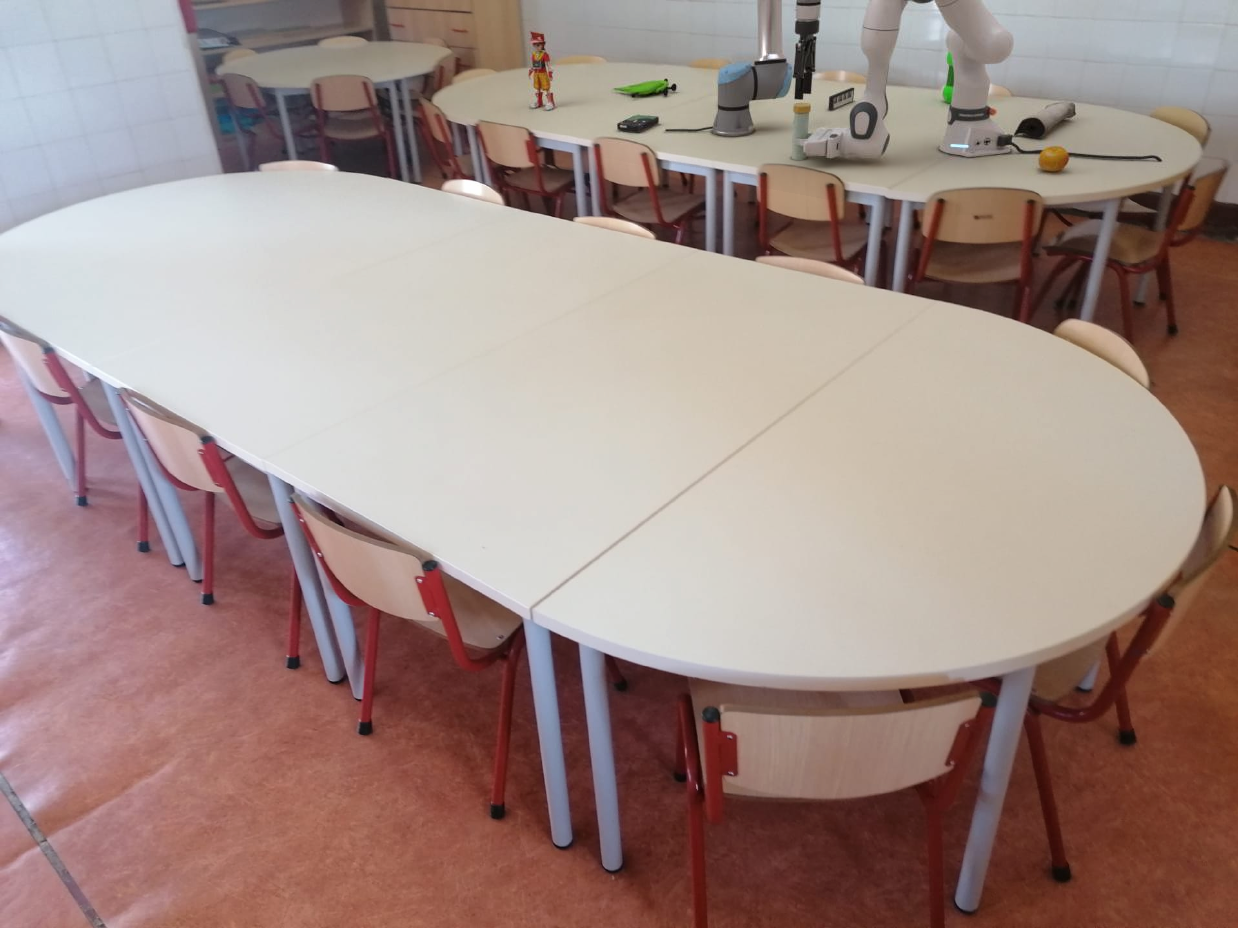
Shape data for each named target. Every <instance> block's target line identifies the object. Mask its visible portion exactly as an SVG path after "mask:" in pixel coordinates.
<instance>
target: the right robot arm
mask: <svg viewBox="0 0 1238 928" xmlns="http://www.w3.org/2000/svg"><path fill="white" fill-rule="evenodd" d="M933 1H934V3H935V5H936V7H937V9H938V11H939V13H940V14H941V17H942V18H943V20H944V22H945V23H946V25H947V26H948V27H949V29H948V31H947V33H946V35H945V36H946V38H945V45H946V48H947V50H948V52H949V51H950V54H951V57H952V62H953V70H954V87H953V94H952V102H951V103H950V104H949V106H948V111H947V118H946V123H947V124H946V128H945V132H944V135H943V138H942V140H941V143H940V144H939V145H940V146H939V150H940V151H941V152H943V153H946V154H950V155H957V156H963V157H966V158H974V157H983V156H992V155H993V156H994V155H1000V154H1001V155H1002V154H1008V153H1010V152H1011V147H1014V148H1015V150H1016V151H1017V152H1019V153H1021V154H1040V153H1041V152H1042V151H1043V150H1044V149H1034V150H1024V149H1021V148H1020V146H1019V145H1018V144H1016V143H1015V142H1013V137H1014V134H1010V133H1007V134H1005V131H1004V129H1003V128H1002V126H1000V125H999V124H998V123H997V122H996V121H995V120H994V119H992V117H991V116H995V115H996V114H997V109H995V108H994V107H991V106H989V105H987V104H988V98H989V93H990V87H991V78H990V76H989V75H988V73H987V70H986V65H996V64H1001V63H1003V62H1004V61H1006V60H1007V59H1008V57H1009V56H1010V55H1011V54H1012V51H1013V49H1014V43H1015V42H1014V36H1013V34H1012V33H1011V32H1010V31H1009V30H1008V29H1006V28H1005V27H1004V26H1003V25H1002V24H1001V23H1000V22H999V21H998V19H996V17H995V16H994V15H993V14H992V12H991V10H989V9H988V8H987V7H986V5H985V4H984V3H983V1H982V0H868V2H867V5H866V9H865V12H864V17H863V22H862V28H861V35H860V48H861V52H862V53H863V54H864V56H866V58H867V61H868V63H867V64H868V69H867V76H866V77H867V78H866V84H865V89H864V93H863V95H862V96H861V98H860V99H859V101H858V102H857V103H855V104H854V105H853V107H852V108H851V110H850V112H849V127H841V126H840V127H839V126H835V127H827V126H820V127H818V128H817V129H816V130H815V131H814V132H813V131H812V132H811V131H810V132H808V139H801V138H796V139H795V141H794V144H796V145H801V146H804V148H803V152H804V153H806V155H812V156H819V157H825V156H826V158H828V159H833V158H835V157H850V156H854V157H857V158H863V159H864V158H867V159H869V158H870V159H871V158H873V159H874V158H880V157H881V156H883V155H884V154H885V152H886V151H887V148H888V147H889V143H890V138H891V134H890V132H889V131H888V129H887V127H886V125H885V123H884V120H885V119H886V116H887V115H888V112H889V102H888V98H887V91H886V90H887V89H886V88H887V82H888V75H889V68H890V62H891V59H892V56H893V54H894V51H895V48H896V45H897V42H898V37H899V33H900V28H901V21H902V15H903V12H904V9H905V8H906V6H907V5H908V4H909V2H911V3H915V4H918V5H919V4H920V5H922V4H923V5H924V4H928V3H931V2H933ZM1067 152H1068V154H1069V157H1070V156H1072V157H1078V158H1079V157H1081V158H1089V159H1090V158H1091V159H1106V160H1107V159H1108V160H1109V159H1110V160H1147V159H1148V160H1149V159H1154V160H1156V161H1157V162H1159V163H1161V162H1163V160H1162V158H1161V157H1160V156H1158V155H1153V154H1150V155H1142V156H1141V155H1139V156H1138V155H1103V154H1089V153H1078V152H1070V151H1067Z"/></svg>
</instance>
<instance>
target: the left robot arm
mask: <svg viewBox="0 0 1238 928" xmlns="http://www.w3.org/2000/svg"><path fill="white" fill-rule="evenodd" d="M821 8H822V0H796V1H795V7H794V12H795V19H796V20H795V21H794V34H796V35H799V40H798V42H797V43H795V53H794V63H793V64H794V65H793V68H792V64H791V63H789V62H787V57H786V55H785V54H784V53H783V0H757V56H756V58H755V59H754V61H753V63H754V64H753V66H752V65H751V63H750V62H748V61H738V62H737V61H736V62H732V63H727V64H726V65H723V66H722V67H720V69H719V70H718V75H717V111H716V114H715V118H714V120H713V124H712V126H706V127H702V128H666V129H664V130H665V132H701V131H706V130H711V129H712V133H713V134H715V135H717V136H721V137H741V136H746V135H750V134H752V133H754V127H755V126H754V122H753V118H752V115H751V111H750V103H751V102H753V101H766V100H776V99H782V98H785V97H786V96H787V95H788V93H789V92H790V89H791V85H792V81H793V79H794V80H795V82H794V98H793V99H794V100H799V101H800V100H801V101H803V100H804V95H811V94H812V86H813V73H816V71H817V70H816V52H817V51H816V49H817V48H816V47H817V38H818V37H817V36H816V34H818V33H819V32H820V20H819V19H820V18H821ZM792 69H793V70H792Z"/></svg>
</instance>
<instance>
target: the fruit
mask: <svg viewBox="0 0 1238 928" xmlns="http://www.w3.org/2000/svg"><path fill="white" fill-rule="evenodd" d="M1042 150H1043V151H1042V152H1041V153H1039V156H1038V158H1037V159H1038V162H1037V163H1038V166H1039V167H1040V169H1042V170H1044V171H1046V172H1059V171H1062V170H1063V169H1064V168H1065V167H1066V166H1067V165H1068V163H1069V160H1070V155H1069V154H1068V152H1069V151H1068V150H1067V149H1066V148H1064V147H1062V146H1060V145H1059V146H1058V145H1052V146H1049V147H1045V148H1043V149H1042Z"/></svg>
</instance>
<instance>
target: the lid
mask: <svg viewBox="0 0 1238 928" xmlns="http://www.w3.org/2000/svg"><path fill="white" fill-rule="evenodd" d="M792 109H793V113H794V112H795V113H808V112H809V113H810V112H811V110H812V104H811V103H809V102H796V103H794V104H793V108H792Z"/></svg>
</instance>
